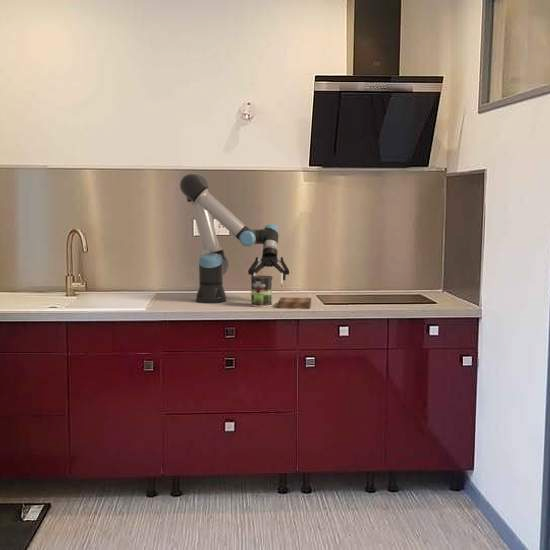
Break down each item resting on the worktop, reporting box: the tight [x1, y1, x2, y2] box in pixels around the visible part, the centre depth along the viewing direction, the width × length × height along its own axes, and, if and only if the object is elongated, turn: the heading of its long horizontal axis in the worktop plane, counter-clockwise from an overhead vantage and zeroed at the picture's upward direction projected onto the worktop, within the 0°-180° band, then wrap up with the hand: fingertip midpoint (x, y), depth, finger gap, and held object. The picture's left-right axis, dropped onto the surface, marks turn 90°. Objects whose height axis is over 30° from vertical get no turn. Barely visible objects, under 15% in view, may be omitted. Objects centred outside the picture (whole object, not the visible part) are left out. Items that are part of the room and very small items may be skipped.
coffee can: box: [250, 275, 273, 308], centre depth 347 cm, size 10×10×14 cm
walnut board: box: [277, 296, 312, 310], centre depth 346 cm, size 15×15×3 cm
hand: (267, 285), depth 350 cm, fingers open, 13 cm apart
